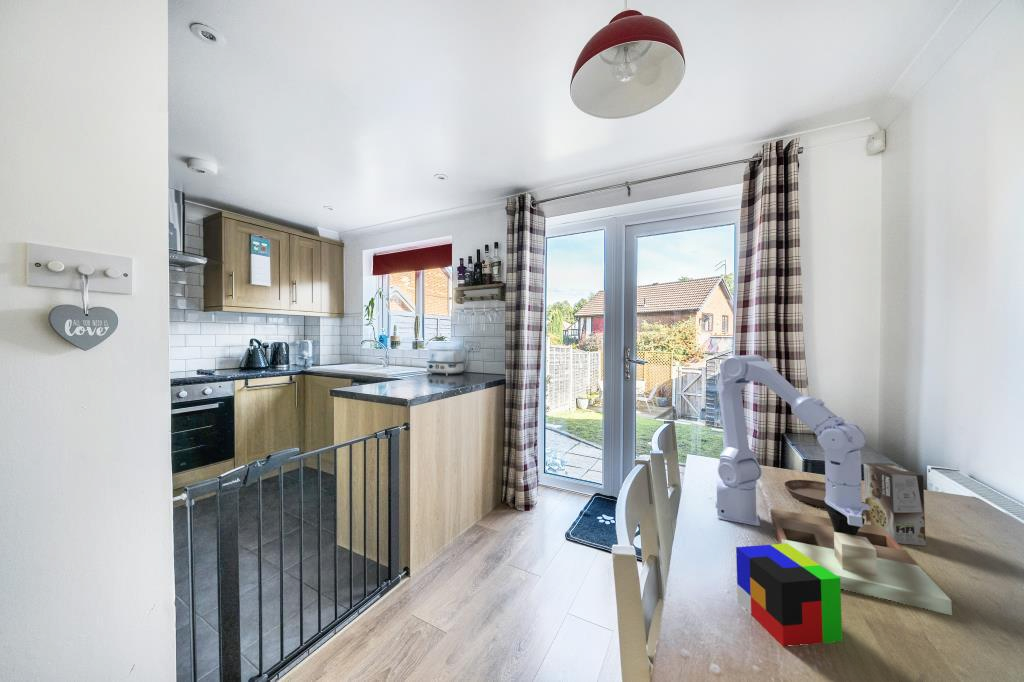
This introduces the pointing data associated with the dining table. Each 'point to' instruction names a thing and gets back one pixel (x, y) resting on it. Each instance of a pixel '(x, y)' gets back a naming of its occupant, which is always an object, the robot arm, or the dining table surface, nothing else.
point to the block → (855, 553)
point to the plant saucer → (808, 491)
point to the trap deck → (893, 577)
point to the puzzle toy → (789, 594)
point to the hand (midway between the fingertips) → (844, 545)
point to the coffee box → (895, 502)
